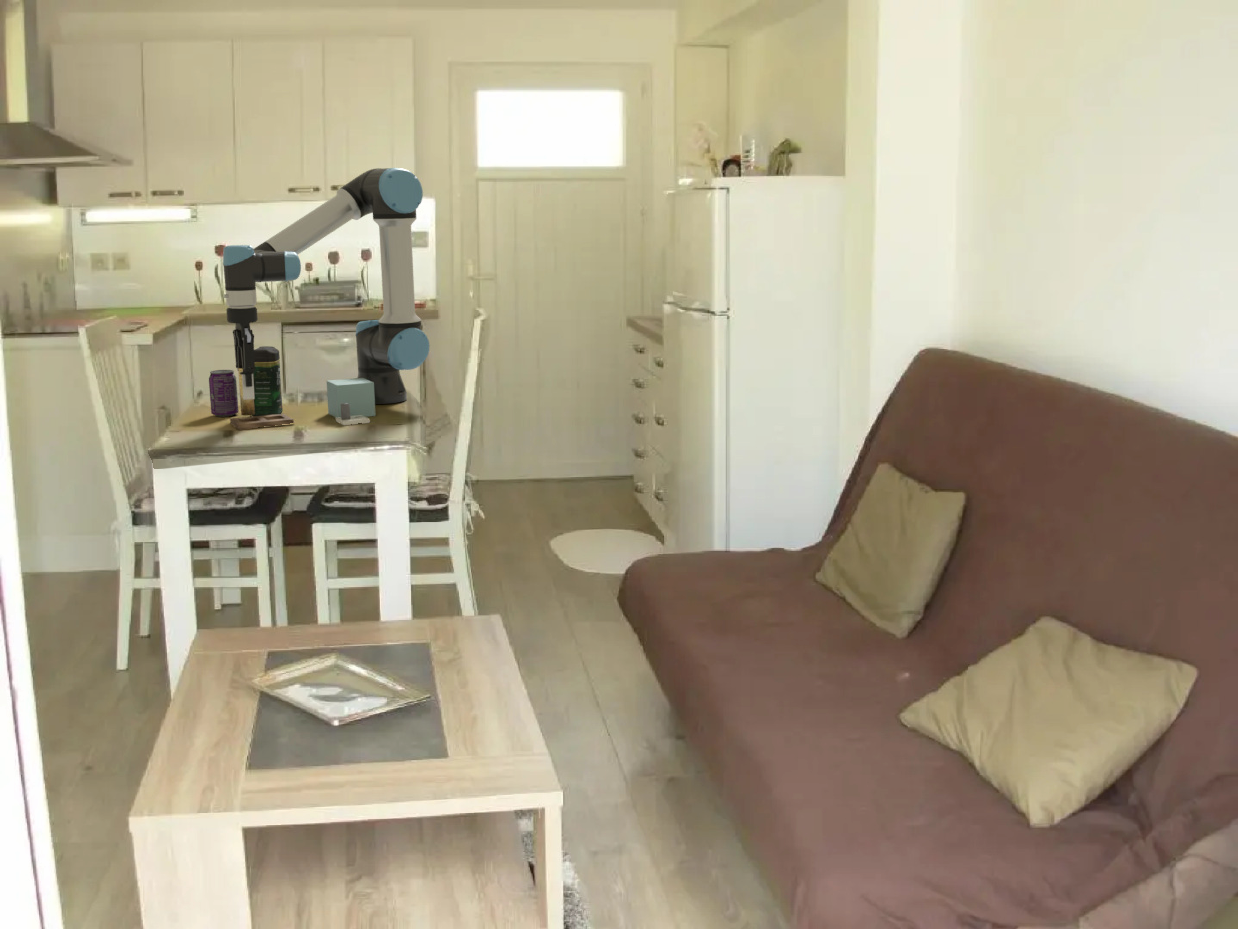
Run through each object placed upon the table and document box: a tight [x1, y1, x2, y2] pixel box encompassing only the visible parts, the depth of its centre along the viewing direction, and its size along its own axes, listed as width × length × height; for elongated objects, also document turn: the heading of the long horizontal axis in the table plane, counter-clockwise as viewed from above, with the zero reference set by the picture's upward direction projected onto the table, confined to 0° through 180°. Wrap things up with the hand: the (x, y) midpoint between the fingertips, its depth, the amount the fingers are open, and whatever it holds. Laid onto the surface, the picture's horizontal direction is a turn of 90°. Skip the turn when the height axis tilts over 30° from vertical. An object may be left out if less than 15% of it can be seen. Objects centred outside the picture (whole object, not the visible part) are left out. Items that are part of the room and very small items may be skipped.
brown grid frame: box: [229, 413, 295, 430], centre depth 357 cm, size 14×10×1 cm
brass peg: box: [237, 368, 255, 417], centre depth 354 cm, size 3×3×12 cm
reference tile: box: [335, 403, 371, 426], centre depth 359 cm, size 7×7×5 cm
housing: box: [326, 377, 376, 418], centre depth 369 cm, size 10×10×9 cm
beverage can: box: [208, 369, 239, 418], centre depth 370 cm, size 7×7×12 cm
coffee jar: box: [251, 345, 284, 417], centre depth 369 cm, size 10×8×19 cm
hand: (247, 397), depth 354 cm, fingers closed on brass peg, 3 cm apart
